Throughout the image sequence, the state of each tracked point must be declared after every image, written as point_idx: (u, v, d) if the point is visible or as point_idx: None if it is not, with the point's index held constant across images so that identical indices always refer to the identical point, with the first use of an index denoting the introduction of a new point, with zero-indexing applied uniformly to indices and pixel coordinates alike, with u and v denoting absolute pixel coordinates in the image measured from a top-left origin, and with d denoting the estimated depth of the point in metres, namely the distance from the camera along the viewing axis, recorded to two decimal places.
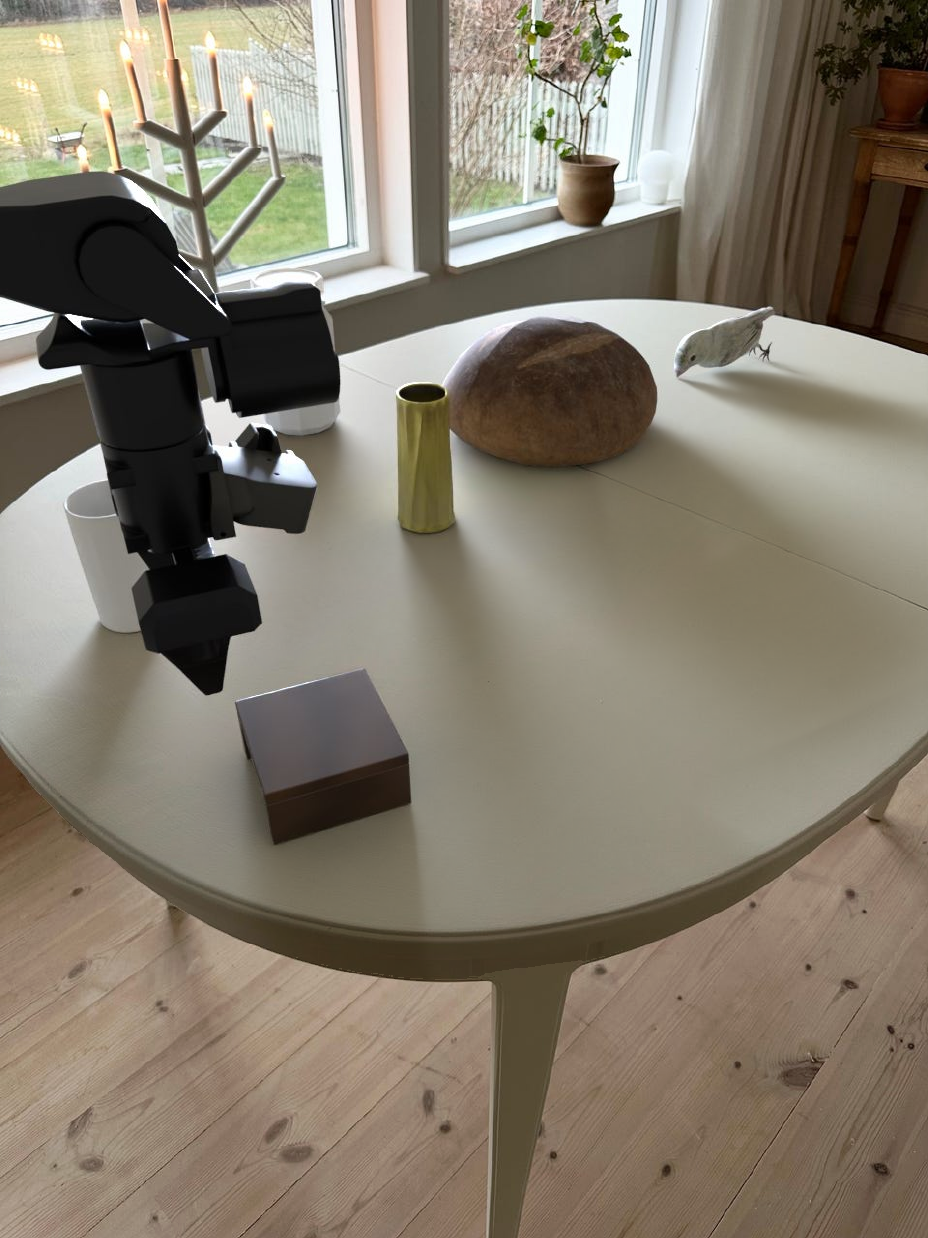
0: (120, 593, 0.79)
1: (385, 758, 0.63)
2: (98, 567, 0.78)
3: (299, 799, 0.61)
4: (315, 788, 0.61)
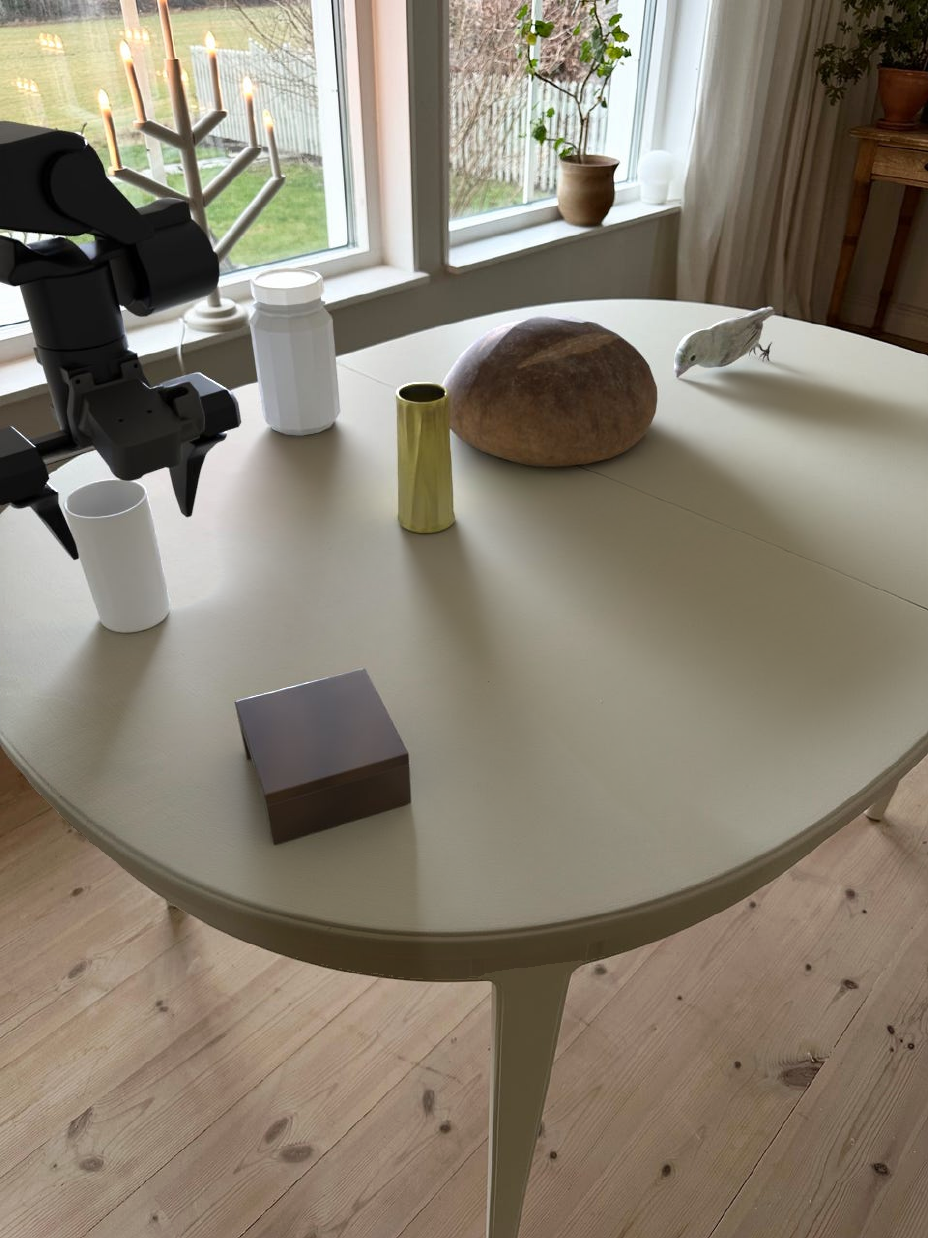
0: (120, 593, 0.79)
1: (385, 758, 0.63)
2: (98, 567, 0.78)
3: (299, 799, 0.61)
4: (315, 788, 0.61)
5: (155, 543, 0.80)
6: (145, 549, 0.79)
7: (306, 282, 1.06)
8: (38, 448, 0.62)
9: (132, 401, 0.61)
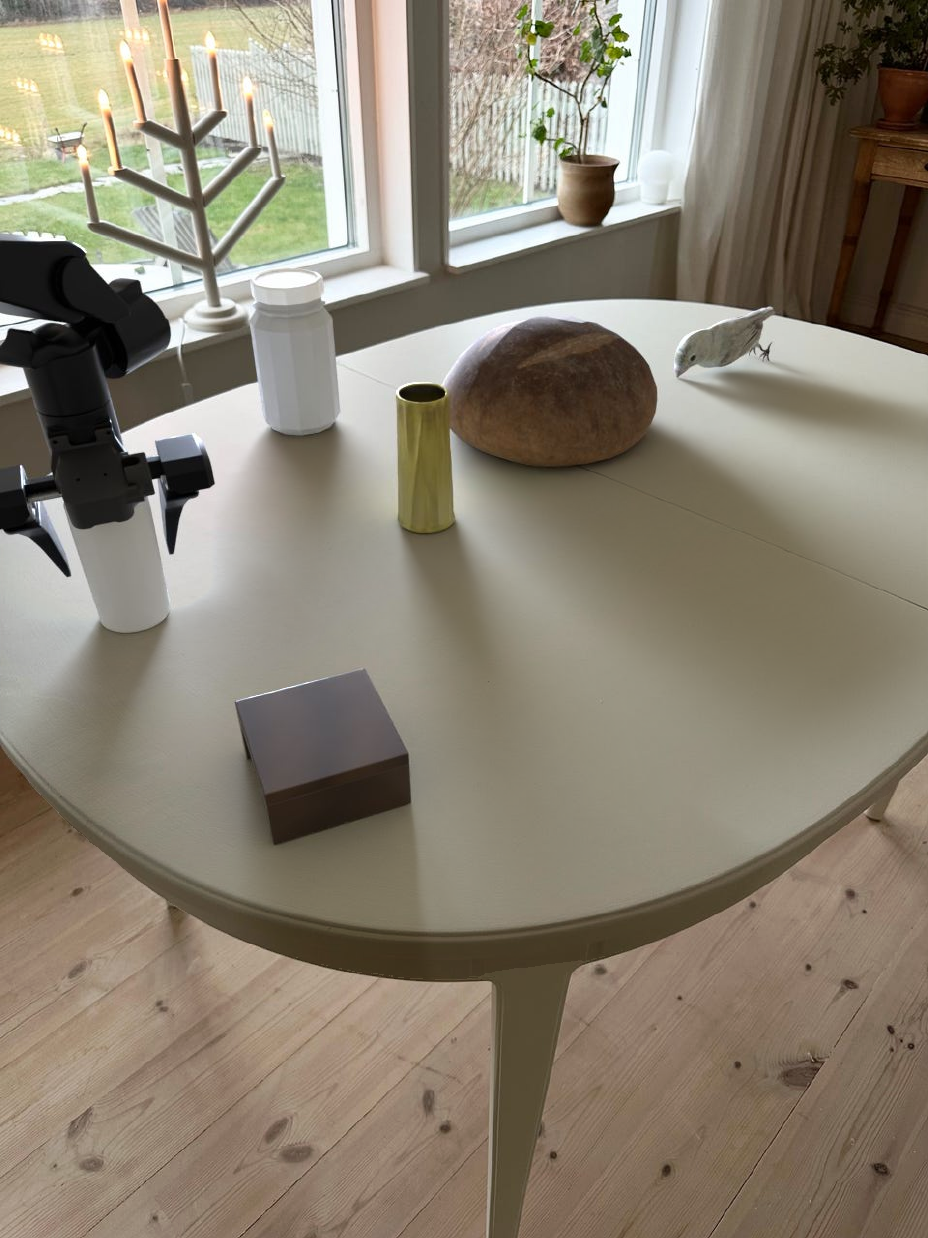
0: (120, 593, 0.79)
1: (385, 758, 0.63)
2: (98, 567, 0.78)
3: (299, 799, 0.61)
4: (315, 788, 0.61)
5: (155, 543, 0.80)
6: (145, 549, 0.79)
7: (306, 282, 1.06)
8: (32, 487, 0.76)
9: (95, 463, 0.72)
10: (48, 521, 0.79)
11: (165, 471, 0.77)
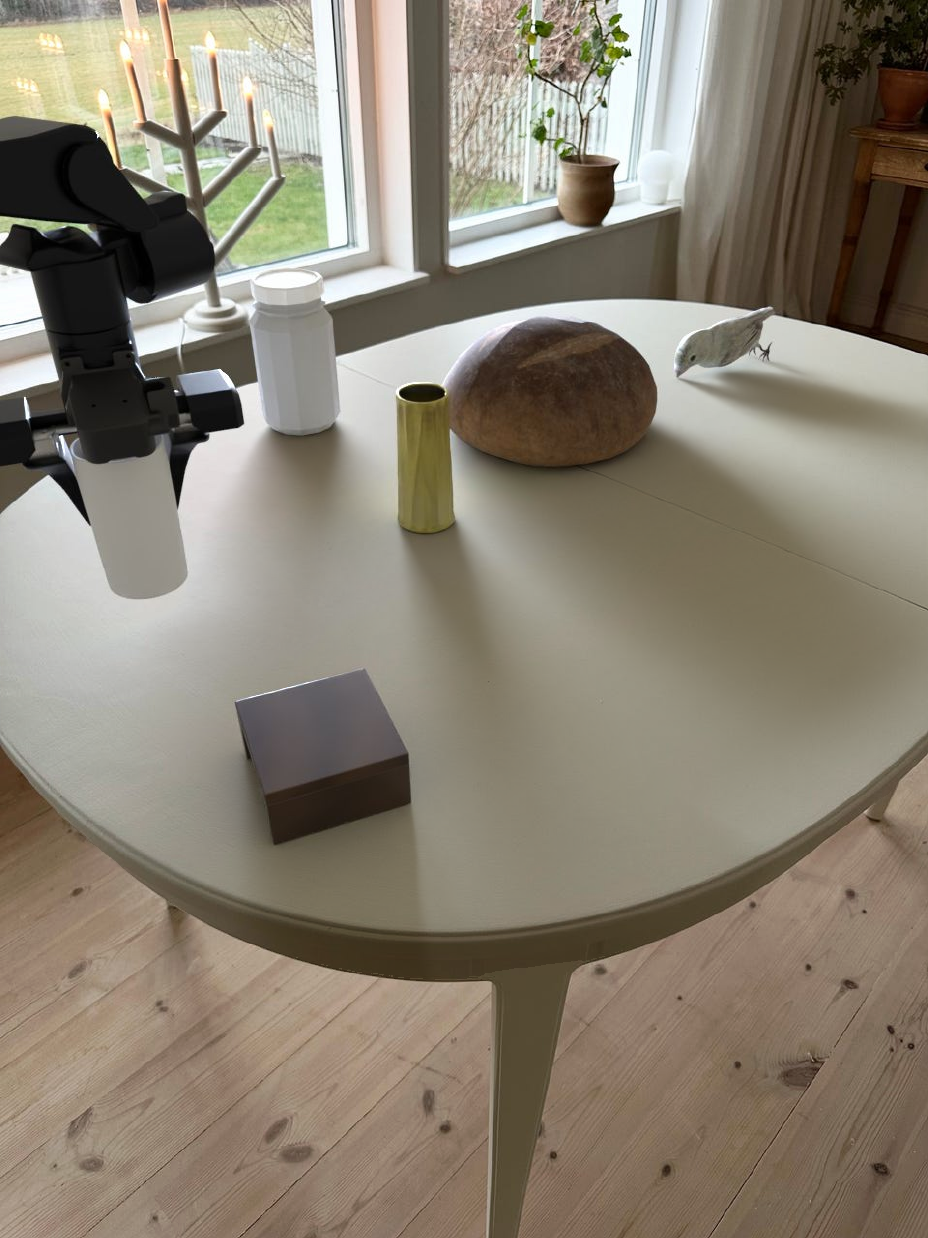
0: (134, 552, 0.70)
1: (385, 758, 0.63)
2: (109, 521, 0.69)
3: (299, 799, 0.61)
4: (315, 788, 0.61)
5: (173, 496, 0.71)
6: (162, 502, 0.70)
7: (306, 282, 1.06)
8: (38, 421, 0.66)
9: (113, 389, 0.63)
10: (71, 461, 0.70)
11: (190, 406, 0.68)
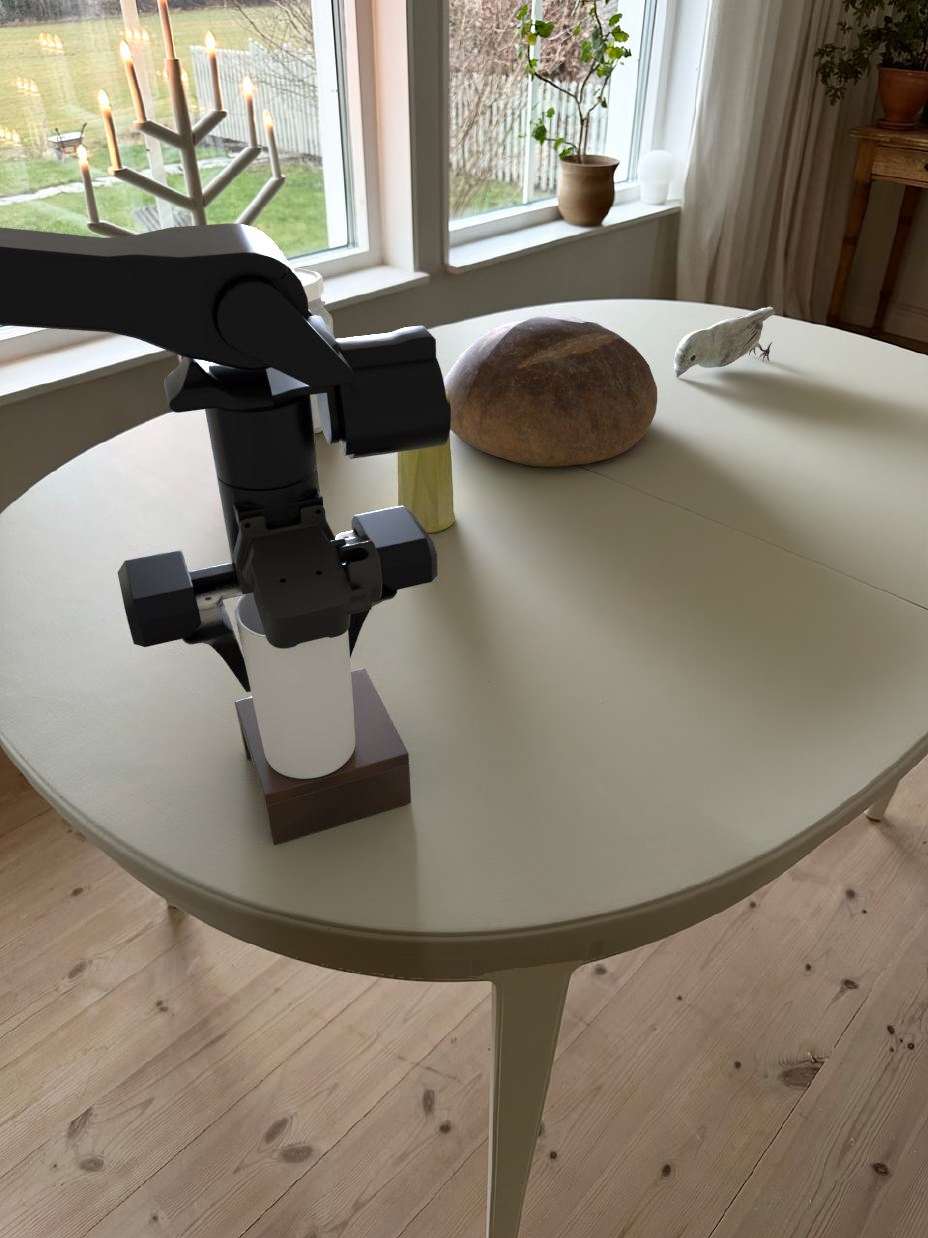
0: (305, 732, 0.58)
1: (385, 758, 0.63)
2: (280, 700, 0.57)
3: (299, 799, 0.61)
4: (315, 788, 0.61)
5: (349, 662, 0.59)
6: (341, 673, 0.58)
7: (306, 282, 1.06)
8: (200, 582, 0.55)
9: (303, 556, 0.51)
10: (229, 620, 0.58)
11: (380, 561, 0.56)
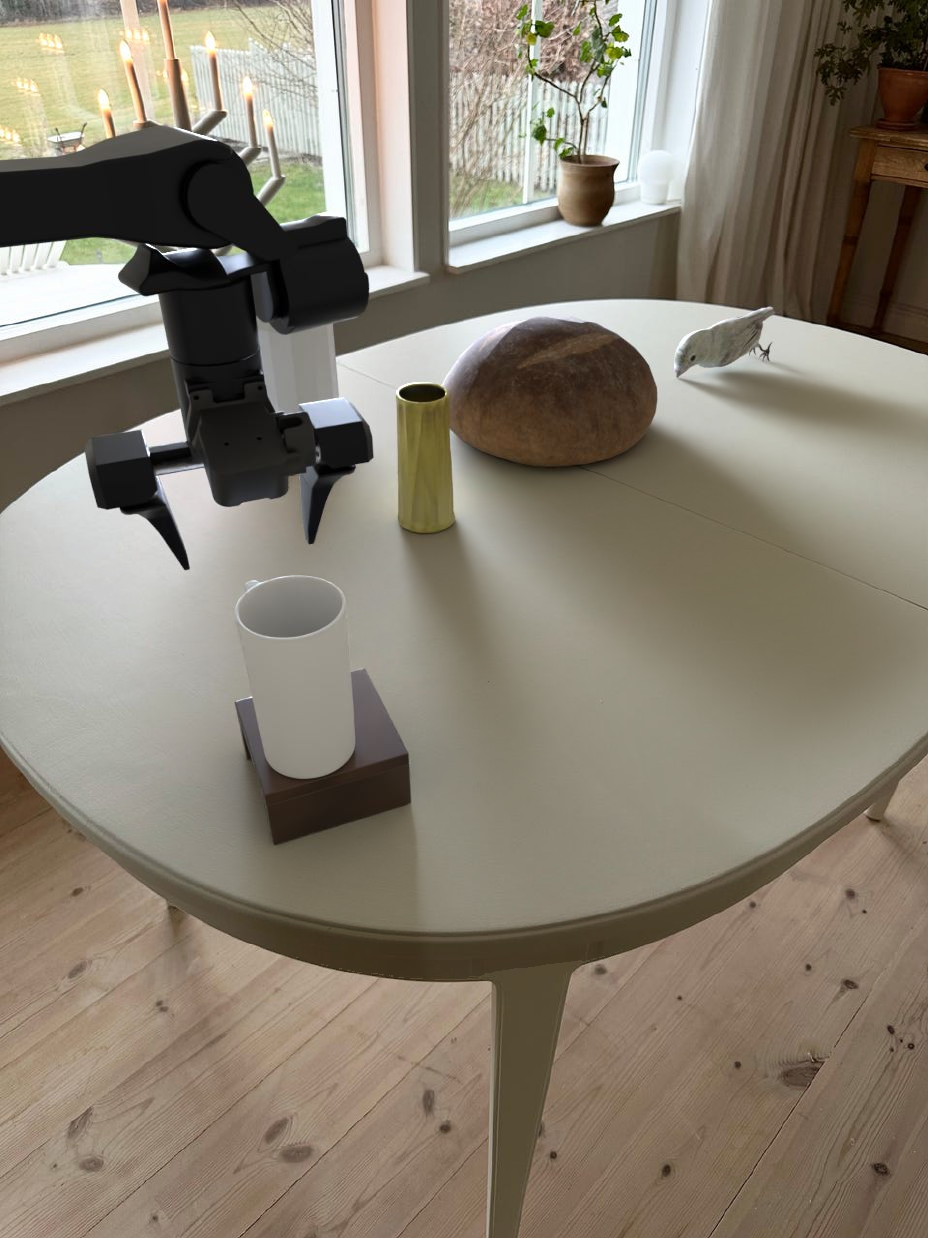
0: (305, 732, 0.58)
1: (385, 758, 0.63)
2: (280, 700, 0.57)
3: (299, 799, 0.61)
4: (315, 788, 0.61)
5: (349, 662, 0.59)
6: (341, 673, 0.58)
7: None
8: (158, 456, 0.61)
9: (246, 425, 0.58)
10: (167, 501, 0.65)
11: (319, 439, 0.63)
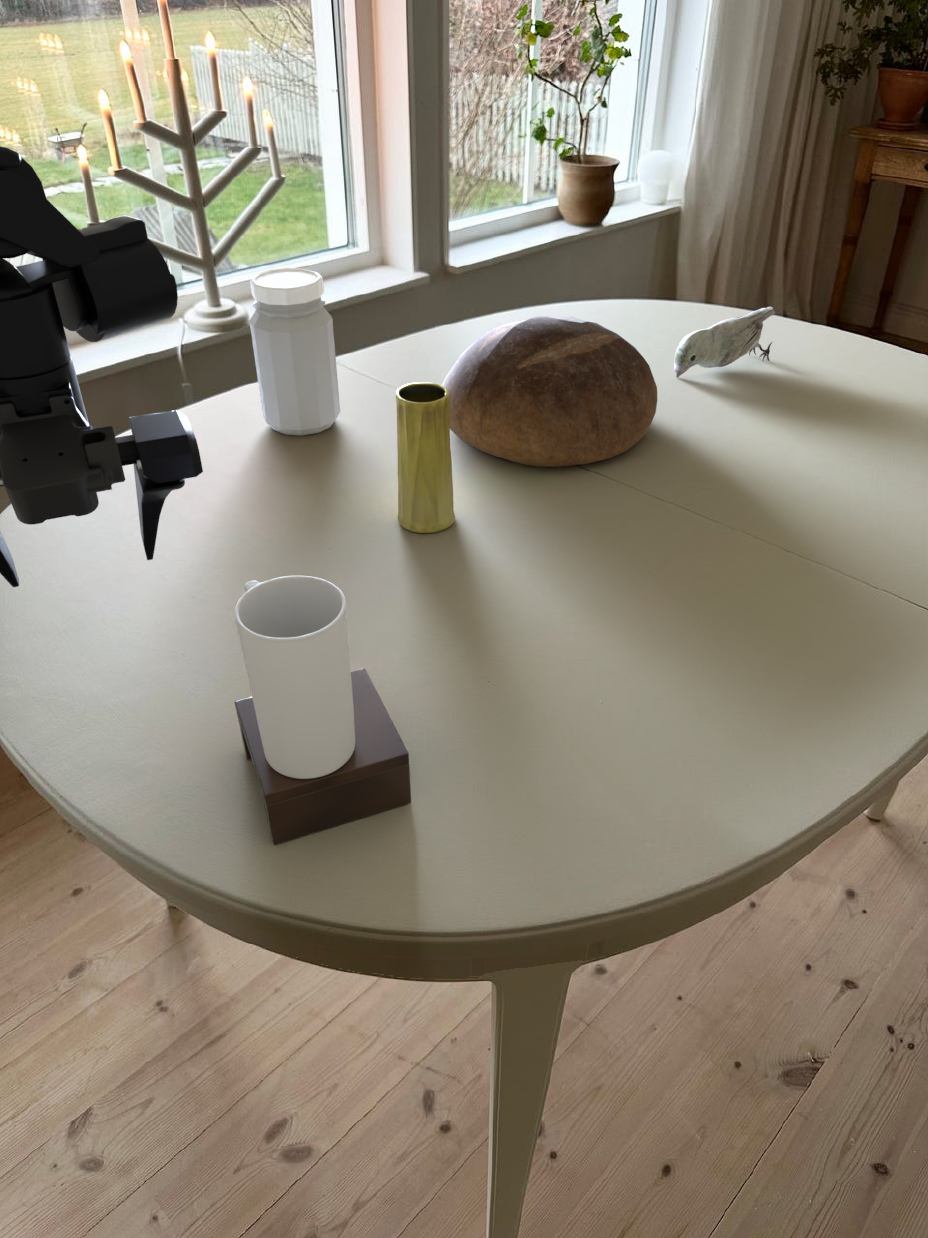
0: (305, 732, 0.58)
1: (385, 758, 0.63)
2: (280, 700, 0.57)
3: (299, 799, 0.61)
4: (315, 788, 0.61)
5: (349, 662, 0.59)
6: (341, 673, 0.58)
7: (306, 282, 1.06)
8: None
9: (48, 440, 0.56)
10: None
11: (140, 454, 0.61)
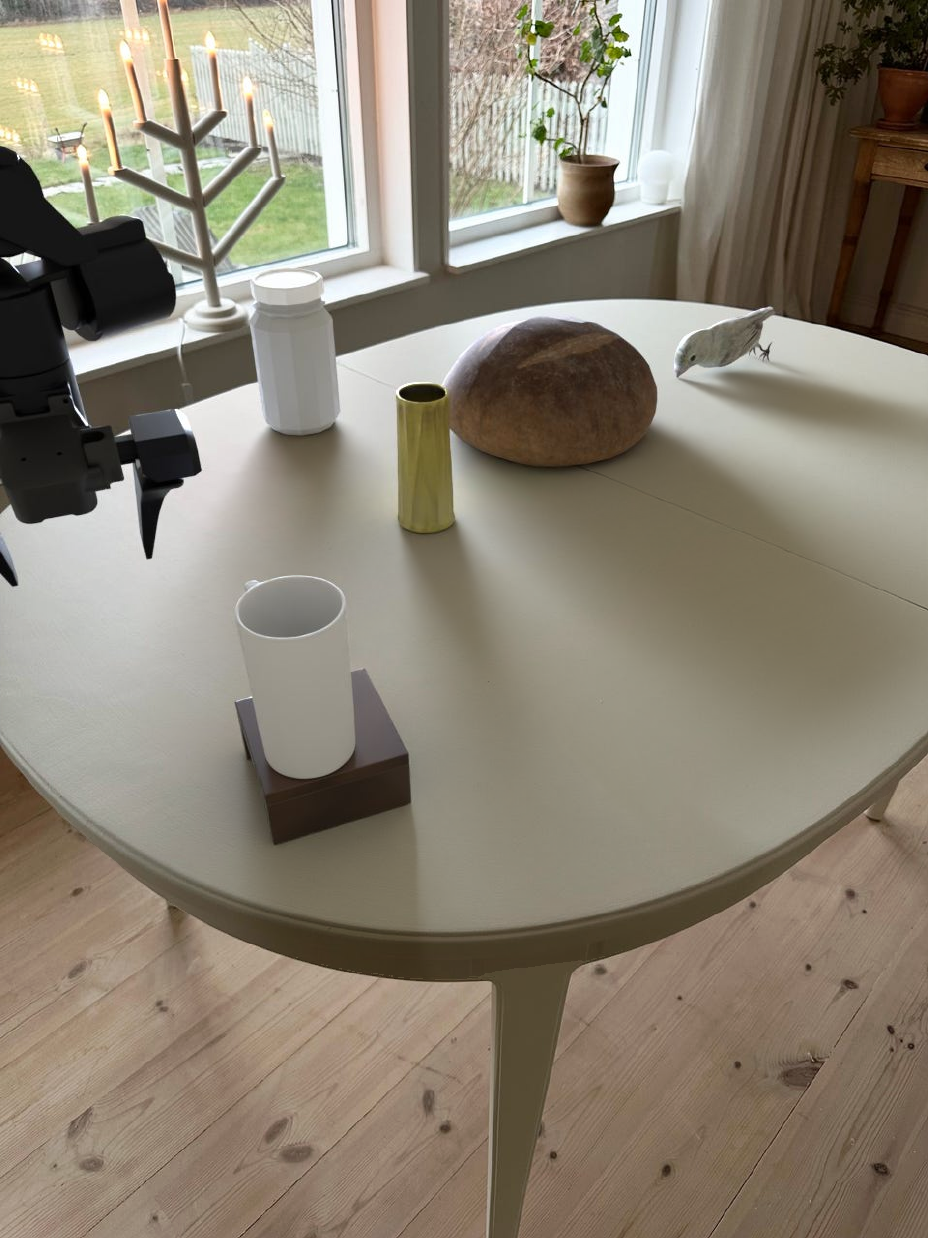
0: (305, 732, 0.58)
1: (385, 758, 0.63)
2: (280, 700, 0.57)
3: (299, 799, 0.61)
4: (315, 788, 0.61)
5: (349, 662, 0.59)
6: (341, 673, 0.58)
7: (306, 282, 1.06)
8: None
9: (47, 439, 0.56)
10: None
11: (139, 453, 0.61)
